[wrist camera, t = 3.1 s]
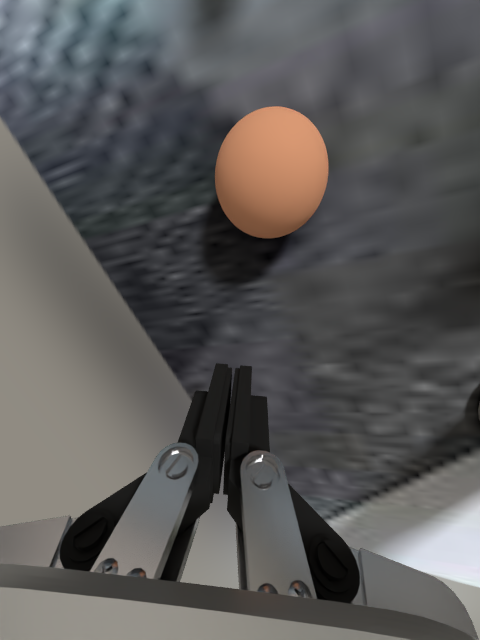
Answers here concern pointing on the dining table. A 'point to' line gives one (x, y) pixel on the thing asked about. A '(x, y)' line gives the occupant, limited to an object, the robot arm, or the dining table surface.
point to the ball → (271, 172)
